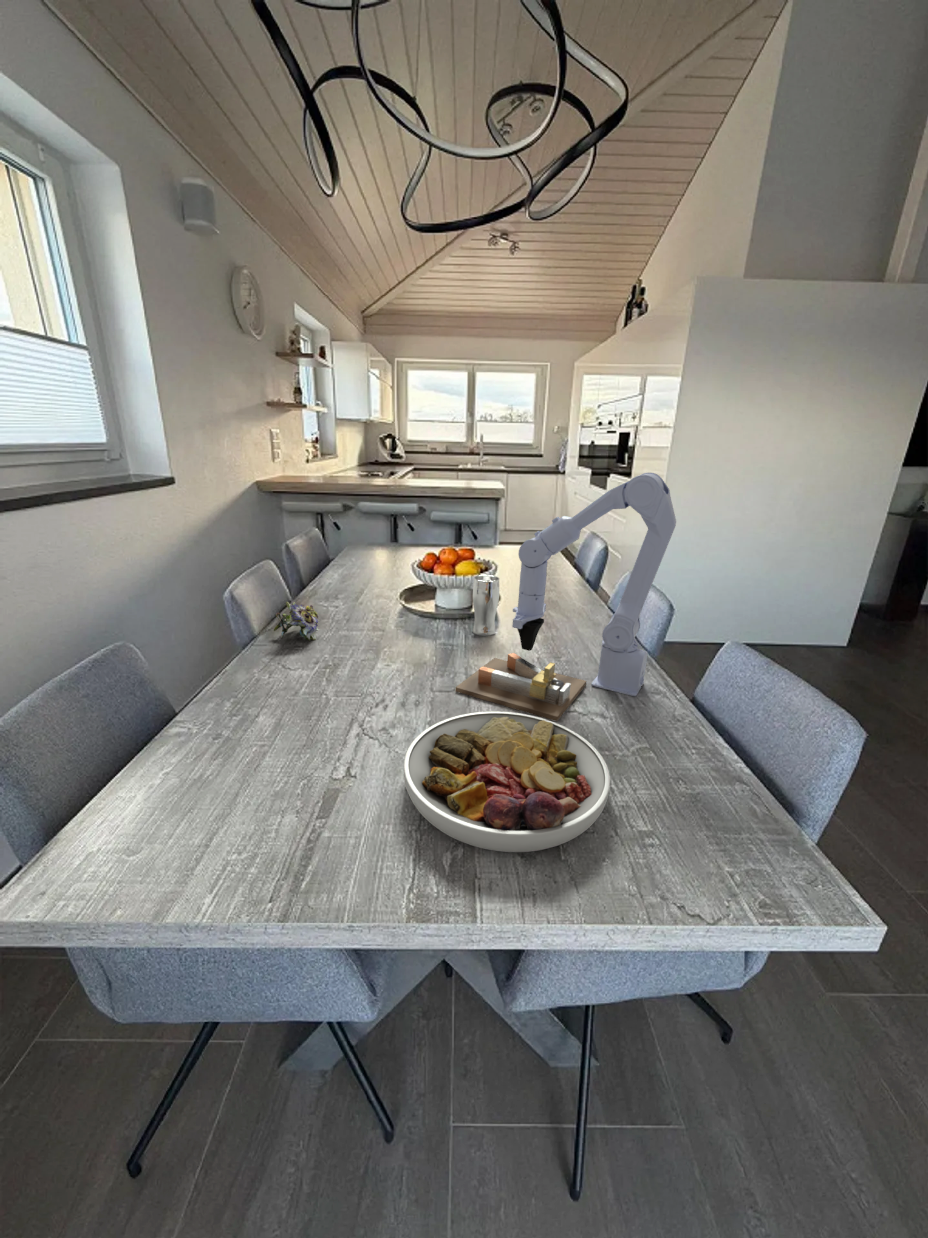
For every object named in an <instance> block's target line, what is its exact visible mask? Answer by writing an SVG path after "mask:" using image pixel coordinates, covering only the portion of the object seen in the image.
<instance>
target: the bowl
mask: <svg viewBox="0 0 928 1238" xmlns="http://www.w3.org/2000/svg"><path fill="white" fill-rule="evenodd" d="M610 776H611V775H610V771H609V767H608V765H607V763H606V761H605V759H604V757H603V756H602V754H601V753H600V751H598V750H597V749H596V747H595V746H594V745H593V744H591V743H590V742H589V741H588V740H587V739H586V738H584V737H583V736H582V735H580V734H579V733H577V732H576V731H574V730H571V729H570V728H569V727H567V726H564V725H561V724H559V723H558V722H556V721H553V720H550V719H547V718H544V717H540V716H537V715H532V714H525V713H520V712H519V713H518V712H511V711H479V712H477V711H476V712H470V713H463V714H459V715H456V716H452V717H448V718H445V719H443V720H440V721H438V722H436V723H435V724H433V725H430V726H429V727H427V728H426V729H424V730H423V731H421V733H419V734H418V735H417V736H416V737H415V738H414V739H413V741H412V742H411V743H410V744H409V746H408V748H407V751H406V753H405V755H404V759H403V779H404V785H405V788H406V791H407V794H408V796H409V798H410V800H411V802H412V804H413V805H414V807H415V808H416V810H417V811H418V812H419V814H421V816H422V817H423V818H425V820H427V822H429V823H430V824H431V825H432V826H434V828H436V829H437V830H439V831H440V832H442V833H444V834H445V835H447V836H448V837H450V838H452V839H455V840H457V841H459V842H462V843H464V844H467V845H470V846H472V847H476V848H478V849H485V850H489V851H496V852H504V853H505V852H506V853H527V852H529V853H530V852H537V851H542V850H546V849H551V848H553V847H557V846H560V845H563V844H565V843H567V842H569V841H571V840H573V839H575V838H577V837H579V836H581V835H582V834H583V833H584V832H586V831H587V830H588V829H589V828H591V826H592V825H593V824H594V823H595V822H596V821H597V820H598V819H599V817H600V816H601V814H602V812H603V810H604V809H605V807H606V804H607V801H608V798H609V794H610V787H611V777H610Z"/></svg>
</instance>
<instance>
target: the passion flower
mask: <svg viewBox="0 0 928 1238" xmlns="http://www.w3.org/2000/svg"><path fill="white" fill-rule="evenodd" d="M285 604H286V606H287V608H288V610H289V614H287V613H282V617H281V613H280V612H276V613H275V617H276V619H278V621H279V623H278V624H276V626H275V627H274V629H273V632H275V631H277V630H278V629H280V628H281V629H282V630H281V634H280V635H281V637H280V639H281V640H282V639H283V637H284V635H285V634H287V632H288V631H289V629H291V627H295V626H296V627H299V628H300V630H299V635H300V636H301V637H302V638H303V637H304V639H305V640H307V641H309V642H310V641H315V640H317V636H316V632H318V631H319V628H318V625H319V620H318V618H319V616H318V614H319V613H317V611H315V608H314V606H313V604H311V605H310V606H309V605H306V606H305V605H303V604H296V602H295V601H294V602H292V604H290V602H288V601H285ZM285 625H286V626H285Z"/></svg>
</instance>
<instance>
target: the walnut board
mask: <svg viewBox="0 0 928 1238" xmlns="http://www.w3.org/2000/svg"><path fill="white" fill-rule="evenodd" d="M483 667H487V668H491V669H494V670H498V671H502V672H505V673H509V674H513V675H517V676H521V675H519V674H518V673H516V672H514V671H513V670H511V669H510V668H508V667H507V660H505V659H500V658H498V657H497V658H496V657H493V658H492V659H491V660H490V661H488V662H487V663H486V664H484V665H483ZM542 670H543V671H544V669H542ZM554 673H555V674H556V676H555V678H556V679H557V680H561V681H563V682H564V685H565V684H566V683H571V687H570V695H569V699H568V700H567V701H566V702H565V704H564V705H563V706H558V702H559V699H558V702H557V703H556V704H551V703H547V702H544V701H540V700H537V699H533V698H530V697H526V696H522V695H519V694H515V693H512V692H508V691H505V690H501V689H497V688H494V687H490V686H487V685H483V684H479V683H478V675H479V669H477V671H475V672H473V673H472V674H471V675H470V676H468V677H467V678H466V679H464V680H463V681H462V682H460V683H459V684H458V685H456V686H455V693H459V694H463V695H466V696H469V697H473V698H476V699H480V700H483V701H486V702H490V703H492V704H493V703H494V704H496V705H499V706H504V707H507V708H510V709H513V710H517V711H520V712H524V713H527V714H529V715H532V716H536V717H539V718H543V719H546V720H549V721H553V722H558V721H559V720H560V719H561V718H562V715H563V714H564V713H565V712H566V711H567V710H568V708H569V707H570V706H571V705H572V703H573V702H574V701H575V700H576V698H577V697H578V696H579V694H581V692H582V691H583V690H584V688H585V687H587V680H585V679H581V678H577V677H572V676H568V675H566V674H565V675H564V674H560V673H557V672H554ZM521 677H522V676H521ZM564 685H563V686H564Z"/></svg>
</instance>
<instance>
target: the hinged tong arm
mask: <svg viewBox="0 0 928 1238" xmlns="http://www.w3.org/2000/svg"><path fill="white" fill-rule="evenodd" d="M506 661H507V667H508V668H510V669H511V670H513V671H514V672H516V673H518V674H519V675H521V676H522V677H524V678H528V679H533V678H534V677H535V676H536V675H537V674H538V673H539V672H540V671H541V670H542V669H540V668H539V667H538V666H536V665H534V664H532V663H531V662H529V661H528V660H526V659H524V658H523V657H521V656H519V655H518V654H516V653H515V652H511V653H508V654H507V660H506ZM549 684H551V685H555V686H559V687H560V688H559V693H560V690H561V689H562V688H563V685H564V682H563V681H561V680H557V679H556V678H554V679H553V680H552V681H551V682H550V683H549ZM558 699H559V697H558Z"/></svg>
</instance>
